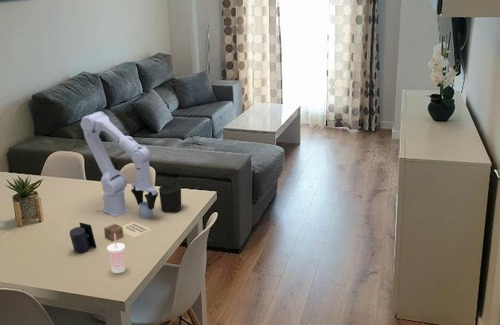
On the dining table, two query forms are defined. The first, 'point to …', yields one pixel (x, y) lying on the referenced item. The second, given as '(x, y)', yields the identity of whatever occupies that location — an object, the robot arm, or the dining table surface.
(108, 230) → the walnut block
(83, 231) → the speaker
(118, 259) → the beverage cup
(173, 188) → the pen holder
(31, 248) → the dining table surface
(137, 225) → the letter
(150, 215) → the slate cylinder
